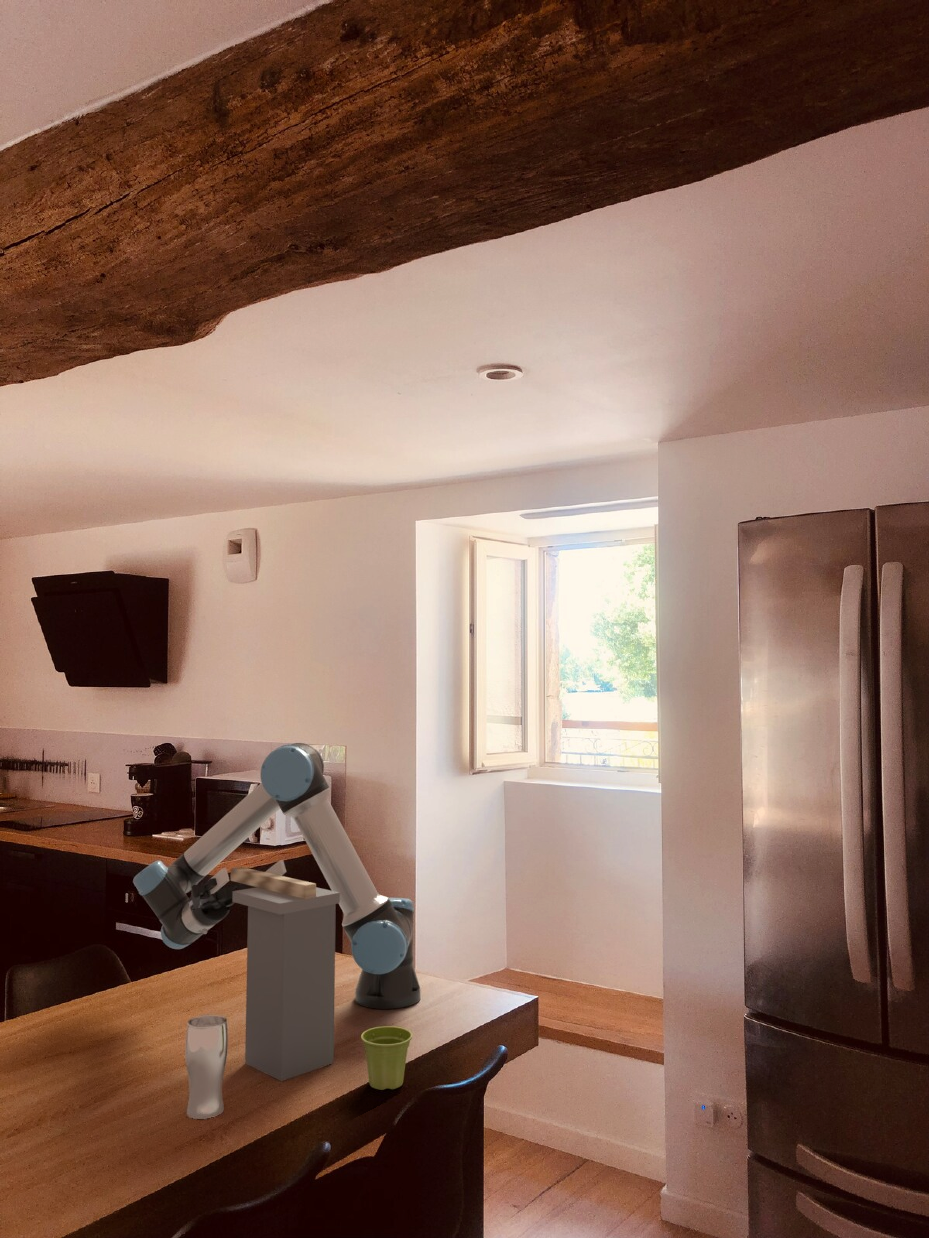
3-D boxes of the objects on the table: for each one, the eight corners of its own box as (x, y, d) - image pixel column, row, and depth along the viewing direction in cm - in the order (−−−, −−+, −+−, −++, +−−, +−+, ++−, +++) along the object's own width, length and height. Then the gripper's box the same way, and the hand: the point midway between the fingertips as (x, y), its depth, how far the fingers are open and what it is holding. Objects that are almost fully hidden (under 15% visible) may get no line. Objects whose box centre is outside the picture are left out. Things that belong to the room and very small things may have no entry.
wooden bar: (230, 880, 200) (230, 868, 201) (240, 878, 202) (241, 866, 202) (305, 898, 182) (305, 885, 182) (316, 896, 184) (316, 883, 184)
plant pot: (422, 1080, 176) (422, 1032, 177) (391, 1098, 169) (391, 1047, 169) (381, 1070, 182) (382, 1022, 182) (349, 1087, 174) (350, 1037, 174)
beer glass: (214, 1122, 159) (217, 1028, 160) (176, 1118, 160) (178, 1026, 162) (233, 1105, 166) (235, 1015, 167) (195, 1101, 167) (197, 1012, 168)
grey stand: (229, 1059, 187) (232, 891, 189) (289, 1041, 197) (291, 881, 199) (276, 1082, 176) (279, 903, 178) (337, 1061, 186) (339, 892, 188)
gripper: (260, 916, 216) (310, 879, 204) (157, 936, 198) (205, 896, 186) (251, 884, 219) (300, 846, 207) (149, 901, 201) (196, 860, 189)
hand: (255, 869), depth 196 cm, fingers open, 13 cm apart
